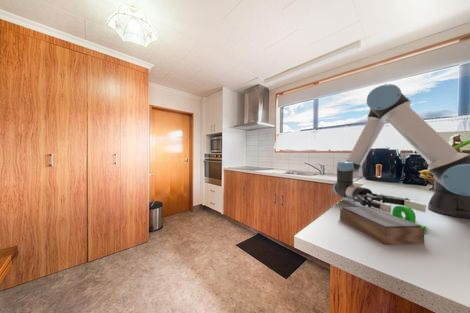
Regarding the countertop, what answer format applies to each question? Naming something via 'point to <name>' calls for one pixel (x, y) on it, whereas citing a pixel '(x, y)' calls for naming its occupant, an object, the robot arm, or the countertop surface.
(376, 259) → the countertop surface
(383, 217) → the stand
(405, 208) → the mechanical part
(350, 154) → the robot arm
